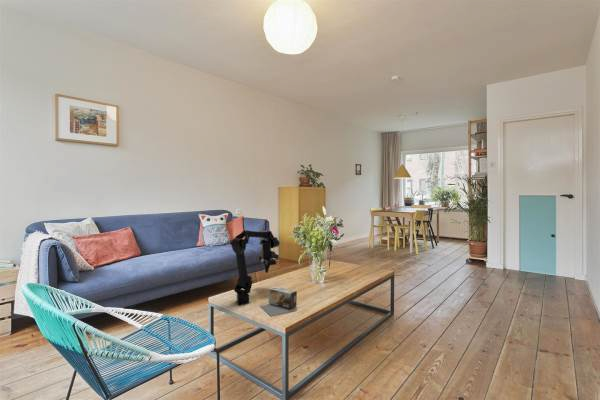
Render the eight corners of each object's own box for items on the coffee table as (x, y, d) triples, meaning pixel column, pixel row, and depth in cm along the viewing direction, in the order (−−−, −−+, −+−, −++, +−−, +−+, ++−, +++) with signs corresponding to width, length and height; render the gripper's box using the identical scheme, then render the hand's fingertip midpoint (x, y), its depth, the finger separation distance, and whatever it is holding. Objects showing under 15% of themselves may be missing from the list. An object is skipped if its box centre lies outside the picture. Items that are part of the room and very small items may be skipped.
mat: (270, 316, 163) (270, 316, 163) (259, 306, 177) (259, 305, 177) (296, 310, 170) (296, 310, 170) (284, 301, 184) (284, 301, 184)
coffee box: (274, 300, 185) (296, 306, 176) (268, 303, 180) (290, 310, 171) (275, 285, 185) (297, 291, 176) (268, 288, 180) (290, 294, 171)
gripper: (283, 250, 196) (283, 274, 196) (272, 246, 212) (272, 268, 213) (267, 252, 191) (267, 277, 191) (257, 247, 207) (257, 270, 207)
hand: (266, 272), depth 201 cm, fingers closed
